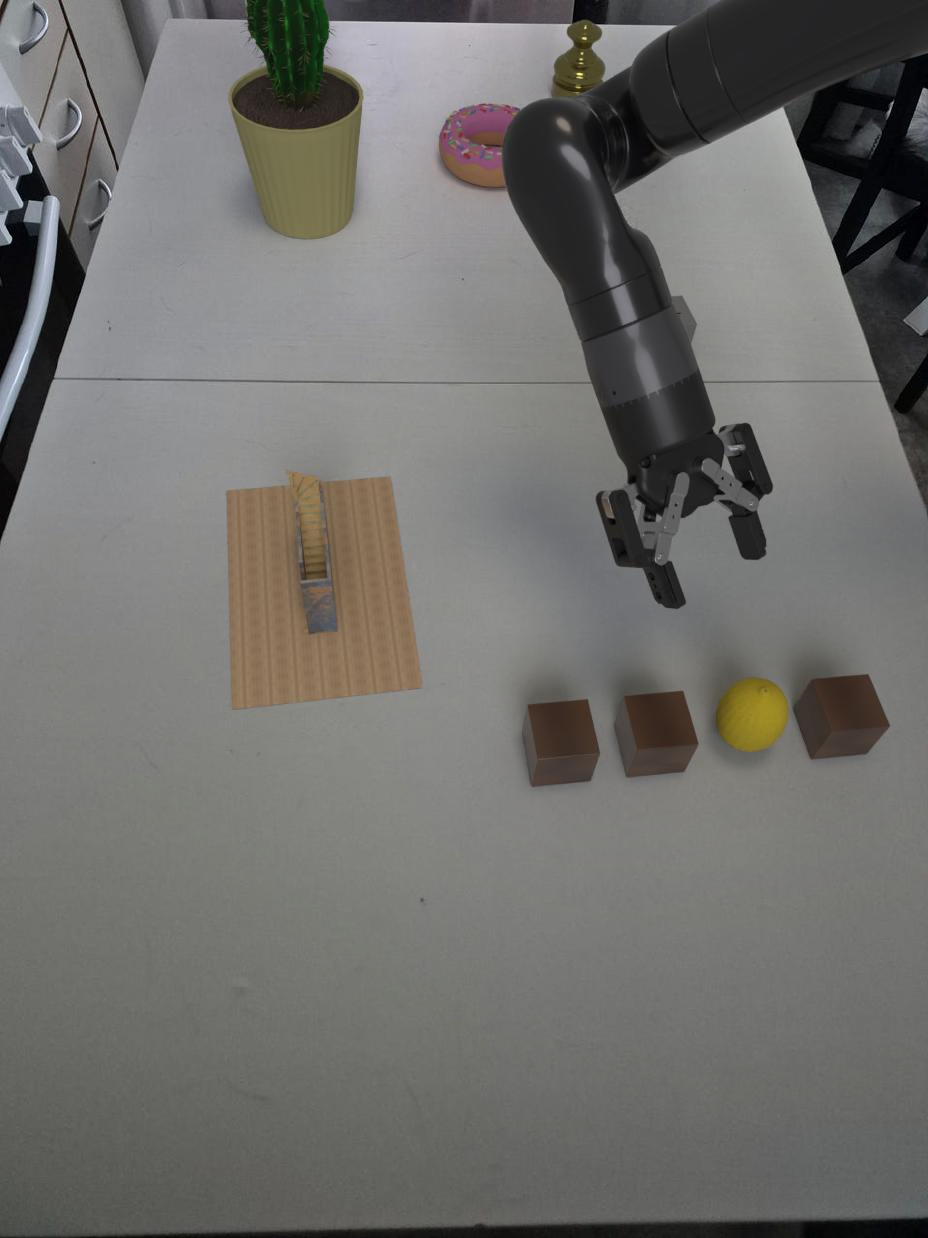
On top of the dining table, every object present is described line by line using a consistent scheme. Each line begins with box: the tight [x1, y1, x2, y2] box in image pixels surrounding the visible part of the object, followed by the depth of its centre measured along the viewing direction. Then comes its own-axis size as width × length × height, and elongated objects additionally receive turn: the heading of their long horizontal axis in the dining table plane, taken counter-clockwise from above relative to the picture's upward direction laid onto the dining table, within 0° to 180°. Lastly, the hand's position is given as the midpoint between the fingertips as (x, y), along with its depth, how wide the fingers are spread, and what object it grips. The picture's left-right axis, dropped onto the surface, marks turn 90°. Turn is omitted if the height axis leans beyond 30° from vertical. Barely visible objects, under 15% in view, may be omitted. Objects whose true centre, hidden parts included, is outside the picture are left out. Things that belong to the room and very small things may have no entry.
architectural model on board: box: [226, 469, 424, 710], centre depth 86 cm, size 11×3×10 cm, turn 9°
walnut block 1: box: [521, 698, 601, 788], centre depth 79 cm, size 5×5×5 cm
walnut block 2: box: [613, 690, 700, 778], centre depth 79 cm, size 5×5×5 cm
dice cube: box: [671, 295, 698, 344], centre depth 109 cm, size 5×5×5 cm
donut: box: [438, 102, 521, 188], centre depth 129 cm, size 14×14×5 cm
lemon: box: [715, 676, 790, 753], centre depth 79 cm, size 6×6×8 cm
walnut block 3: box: [792, 673, 891, 760], centre depth 81 cm, size 5×5×5 cm
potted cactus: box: [227, 0, 365, 240], centre depth 110 cm, size 15×15×30 cm
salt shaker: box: [551, 19, 606, 98], centre depth 138 cm, size 7×7×10 cm
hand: (715, 581), depth 75 cm, fingers open, 8 cm apart
